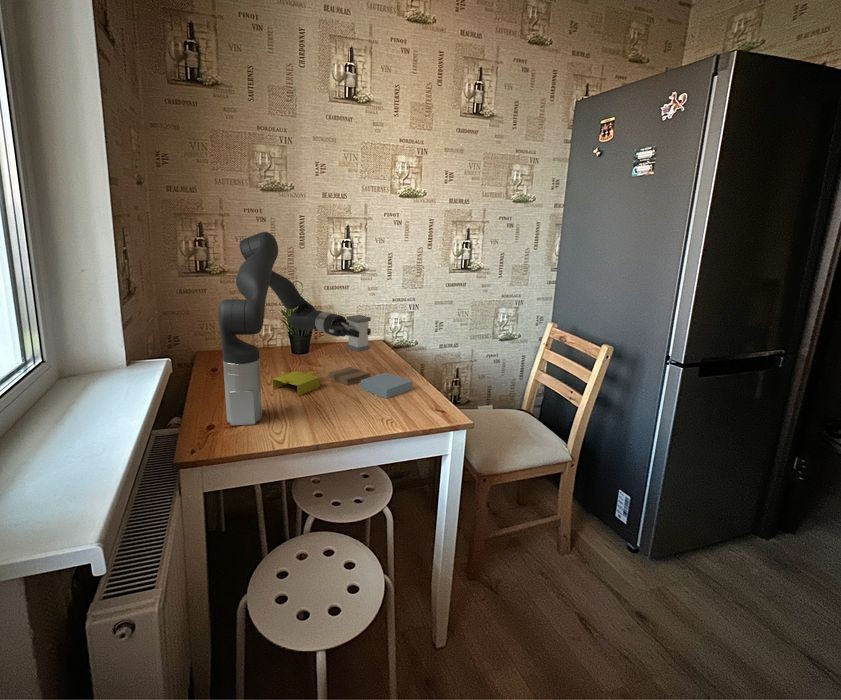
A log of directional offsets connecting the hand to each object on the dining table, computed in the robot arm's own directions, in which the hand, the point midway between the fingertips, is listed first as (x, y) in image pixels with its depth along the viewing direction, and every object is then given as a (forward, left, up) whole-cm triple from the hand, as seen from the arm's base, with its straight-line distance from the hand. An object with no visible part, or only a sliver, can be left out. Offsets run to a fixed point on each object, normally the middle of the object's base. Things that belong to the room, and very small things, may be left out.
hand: (364, 333), depth 163 cm
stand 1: (+5, +4, -18) cm, 19 cm away
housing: (+2, +2, -6) cm, 7 cm away
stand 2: (-7, -7, -18) cm, 20 cm away
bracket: (-1, +21, -18) cm, 28 cm away
